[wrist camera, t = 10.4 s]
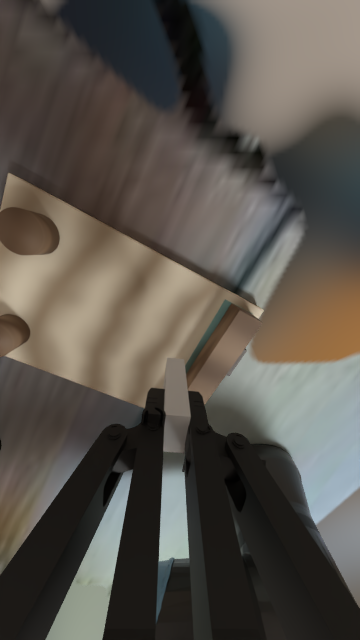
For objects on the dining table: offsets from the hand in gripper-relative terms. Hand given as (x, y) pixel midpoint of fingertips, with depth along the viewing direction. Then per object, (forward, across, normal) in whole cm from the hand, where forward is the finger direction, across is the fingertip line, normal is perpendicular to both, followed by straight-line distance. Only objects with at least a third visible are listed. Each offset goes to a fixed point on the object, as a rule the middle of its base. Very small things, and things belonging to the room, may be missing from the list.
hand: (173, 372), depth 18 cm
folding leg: (+8, -5, +3) cm, 10 cm away
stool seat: (+10, +7, -1) cm, 12 cm away
